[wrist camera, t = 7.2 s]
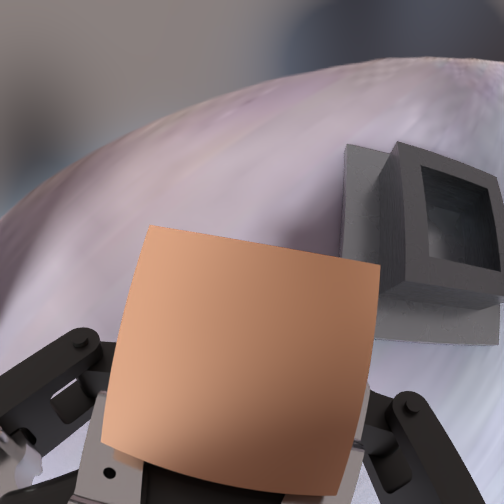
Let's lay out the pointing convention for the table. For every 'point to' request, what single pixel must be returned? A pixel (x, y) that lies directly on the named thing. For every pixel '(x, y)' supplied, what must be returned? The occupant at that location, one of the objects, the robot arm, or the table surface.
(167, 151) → the table surface
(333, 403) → the terracotta peg
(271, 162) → the table surface
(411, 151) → the socket plate
